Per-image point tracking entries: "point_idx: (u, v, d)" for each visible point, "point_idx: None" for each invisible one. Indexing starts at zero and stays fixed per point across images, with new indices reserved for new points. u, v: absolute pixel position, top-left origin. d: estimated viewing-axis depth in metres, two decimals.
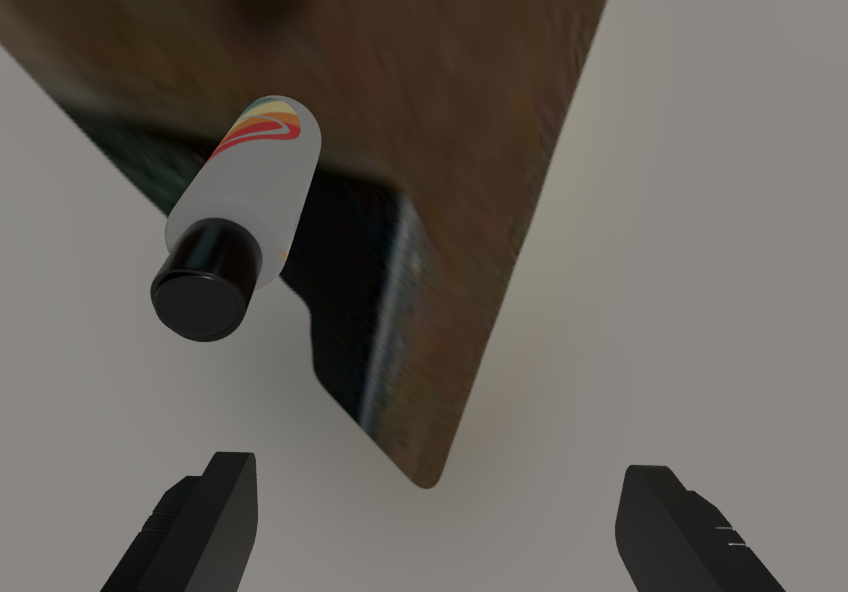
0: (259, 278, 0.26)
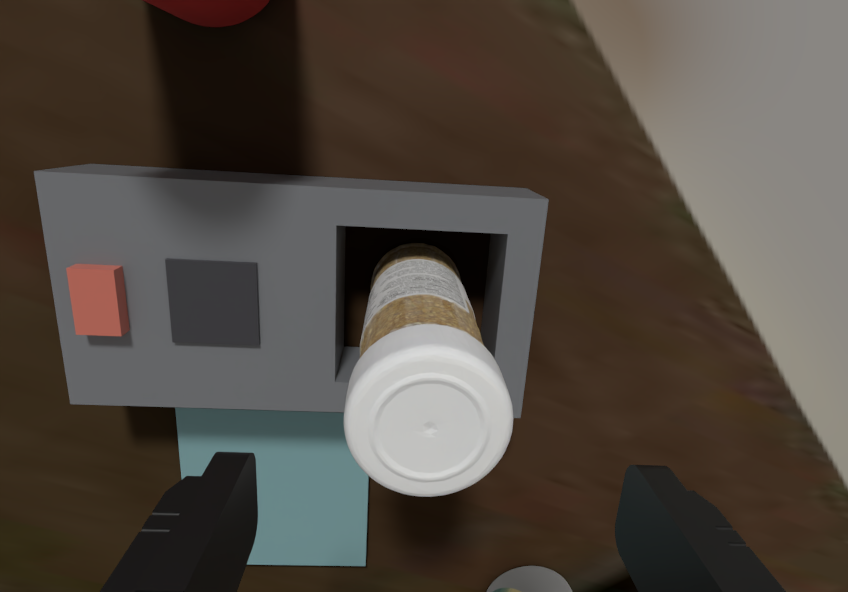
0: None
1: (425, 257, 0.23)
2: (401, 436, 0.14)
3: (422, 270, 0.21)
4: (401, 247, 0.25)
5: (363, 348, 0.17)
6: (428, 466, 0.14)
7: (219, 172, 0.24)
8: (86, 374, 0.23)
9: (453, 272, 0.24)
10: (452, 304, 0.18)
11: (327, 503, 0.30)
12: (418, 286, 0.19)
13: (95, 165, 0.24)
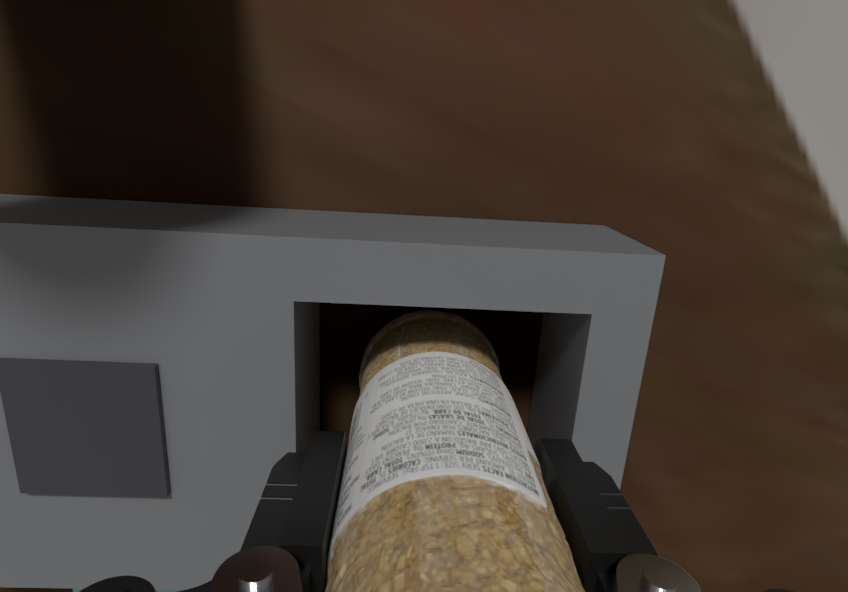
0: None
1: (447, 345, 0.14)
2: None
3: (446, 388, 0.12)
4: (407, 319, 0.16)
5: None
6: None
7: (112, 203, 0.15)
8: None
9: (493, 368, 0.14)
10: (515, 496, 0.09)
11: None
12: (442, 442, 0.10)
13: None
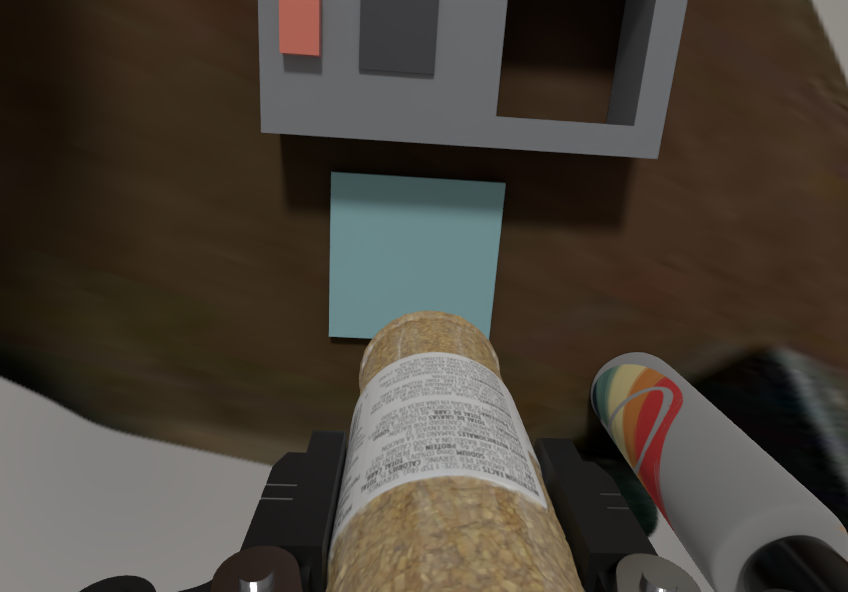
0: None
1: (447, 345, 0.14)
2: None
3: (447, 388, 0.12)
4: (407, 319, 0.16)
5: None
6: None
7: None
8: (278, 102, 0.26)
9: (493, 368, 0.14)
10: (515, 497, 0.09)
11: (459, 276, 0.32)
12: (442, 442, 0.10)
13: None
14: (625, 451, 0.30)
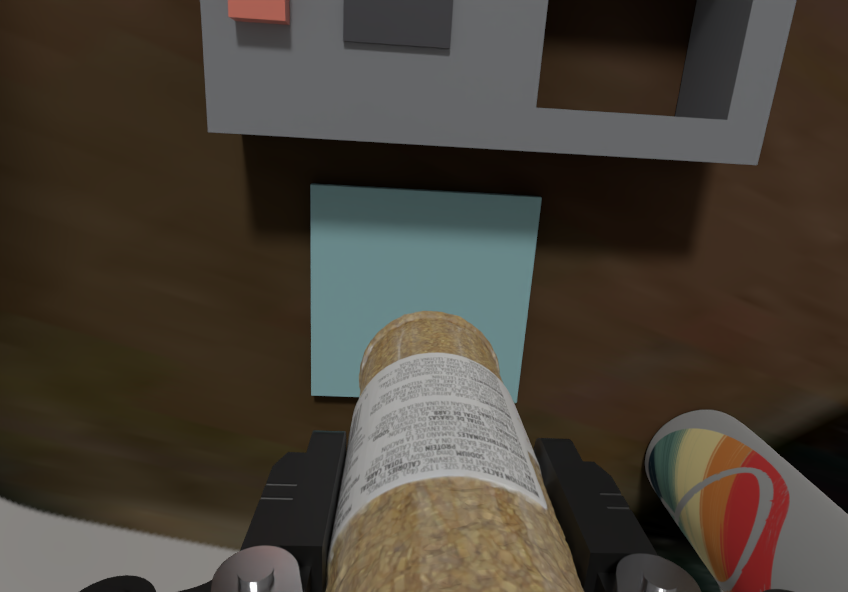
0: None
1: (447, 346, 0.14)
2: None
3: (446, 389, 0.12)
4: (407, 319, 0.16)
5: None
6: None
7: None
8: (231, 89, 0.18)
9: (492, 368, 0.14)
10: (515, 498, 0.09)
11: (479, 318, 0.25)
12: (442, 443, 0.10)
13: None
14: (705, 555, 0.22)
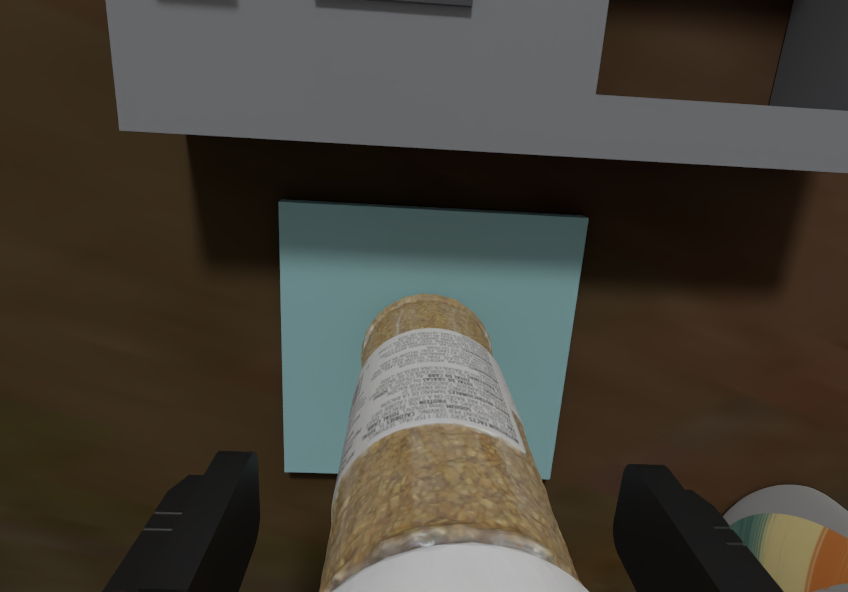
0: None
1: (442, 323, 0.15)
2: None
3: (440, 357, 0.13)
4: (405, 301, 0.17)
5: (331, 543, 0.09)
6: None
7: None
8: (150, 67, 0.13)
9: (484, 344, 0.16)
10: (497, 442, 0.10)
11: (503, 374, 0.19)
12: (434, 399, 0.11)
13: None
14: None
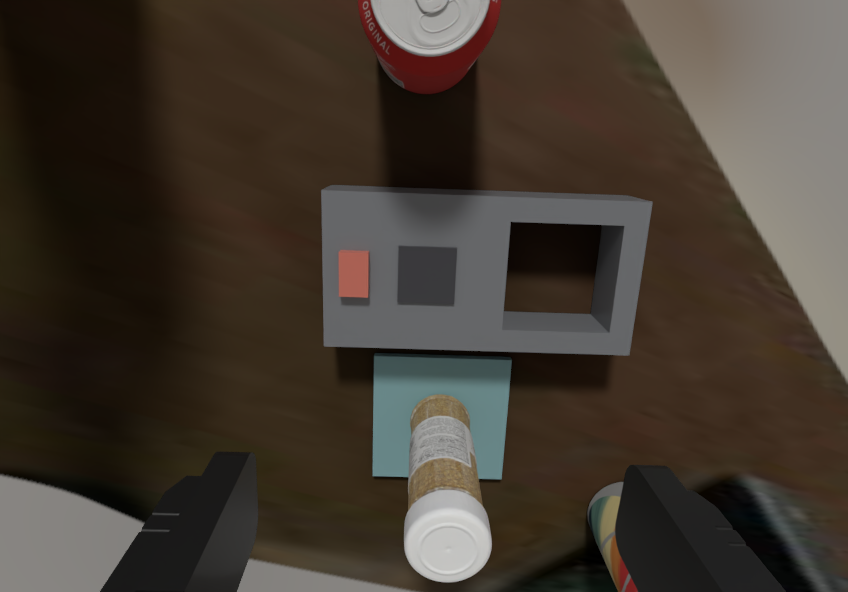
0: None
1: (445, 412, 0.37)
2: (434, 552, 0.27)
3: (444, 430, 0.34)
4: (430, 398, 0.39)
5: (411, 493, 0.30)
6: (448, 567, 0.28)
7: (419, 188, 0.35)
8: (337, 325, 0.34)
9: (463, 420, 0.37)
10: (461, 463, 0.31)
11: (476, 429, 0.40)
12: (441, 449, 0.32)
13: (337, 186, 0.35)
14: (613, 577, 0.37)
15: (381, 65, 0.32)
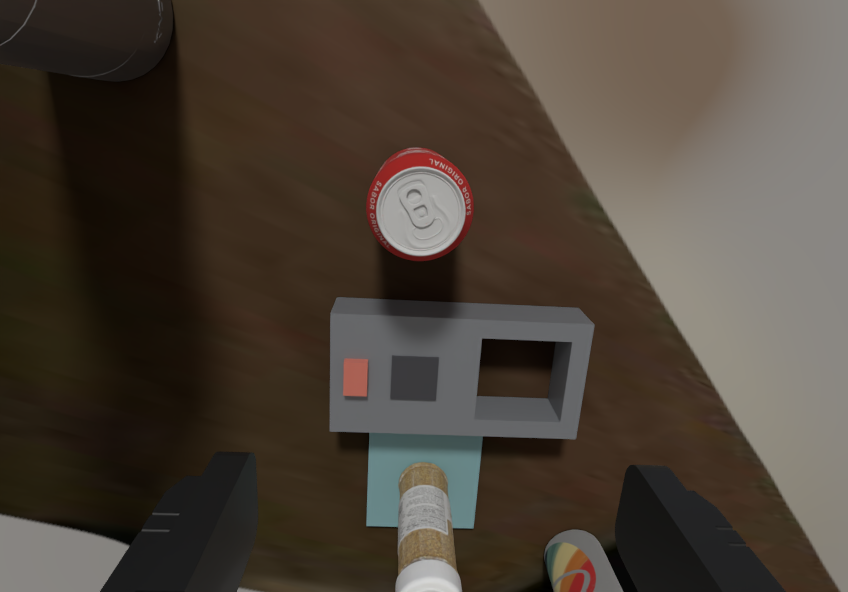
0: None
1: (428, 481, 0.45)
2: None
3: (427, 500, 0.43)
4: (415, 466, 0.47)
5: (401, 558, 0.39)
6: None
7: (409, 302, 0.43)
8: (340, 415, 0.42)
9: (442, 487, 0.45)
10: (440, 532, 0.40)
11: (453, 489, 0.49)
12: (425, 519, 0.41)
13: (342, 299, 0.43)
14: None
15: None
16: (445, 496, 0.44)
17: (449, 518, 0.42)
